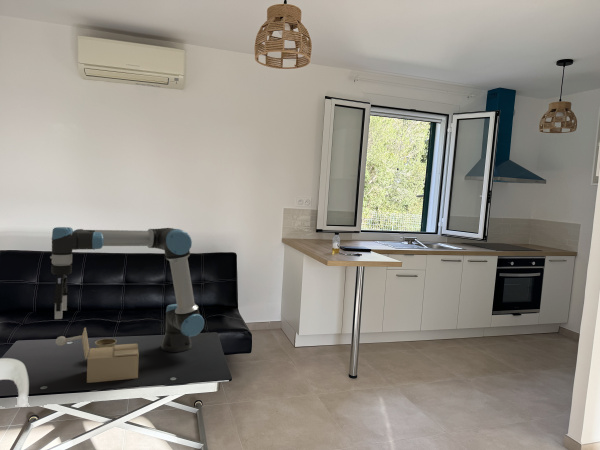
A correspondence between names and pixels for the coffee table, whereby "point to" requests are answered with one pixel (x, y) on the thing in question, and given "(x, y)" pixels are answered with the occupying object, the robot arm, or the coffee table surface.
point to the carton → (113, 363)
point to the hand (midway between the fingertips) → (60, 314)
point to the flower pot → (105, 343)
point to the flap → (62, 340)
